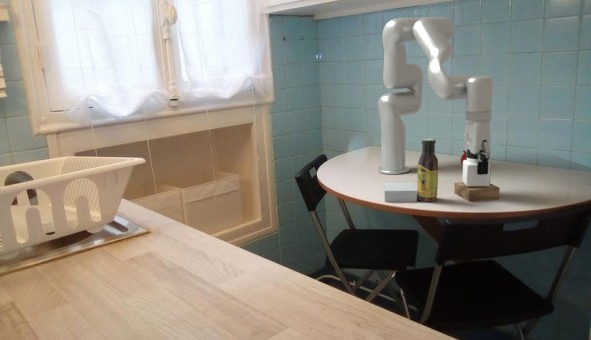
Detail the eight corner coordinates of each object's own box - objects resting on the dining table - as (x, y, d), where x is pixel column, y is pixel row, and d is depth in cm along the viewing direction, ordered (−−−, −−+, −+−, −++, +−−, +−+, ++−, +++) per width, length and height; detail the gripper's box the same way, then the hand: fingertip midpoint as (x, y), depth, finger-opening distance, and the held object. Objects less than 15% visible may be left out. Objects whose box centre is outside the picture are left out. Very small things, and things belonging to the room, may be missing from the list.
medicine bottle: (490, 186, 149) (491, 149, 146) (466, 186, 150) (467, 149, 147) (484, 180, 156) (486, 144, 153) (462, 181, 157) (463, 145, 154)
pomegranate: (482, 172, 191) (471, 154, 197) (487, 161, 186) (475, 142, 192) (465, 176, 190) (454, 158, 196) (470, 164, 185) (458, 146, 191)
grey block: (383, 194, 162) (383, 183, 161) (413, 194, 161) (413, 182, 160) (384, 202, 153) (384, 191, 152) (416, 202, 151) (416, 190, 150)
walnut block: (454, 194, 158) (454, 182, 157) (482, 191, 159) (482, 180, 158) (469, 202, 148) (469, 190, 147) (499, 199, 149) (499, 187, 148)
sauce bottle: (414, 197, 155) (414, 137, 151) (433, 196, 156) (433, 136, 151) (421, 203, 149) (421, 141, 144) (440, 201, 149) (441, 139, 145)
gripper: (456, 114, 156) (455, 165, 160) (478, 120, 139) (476, 178, 143) (478, 113, 156) (476, 164, 160) (503, 119, 139) (500, 176, 143)
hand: (476, 170), depth 152 cm, fingers open, 8 cm apart
